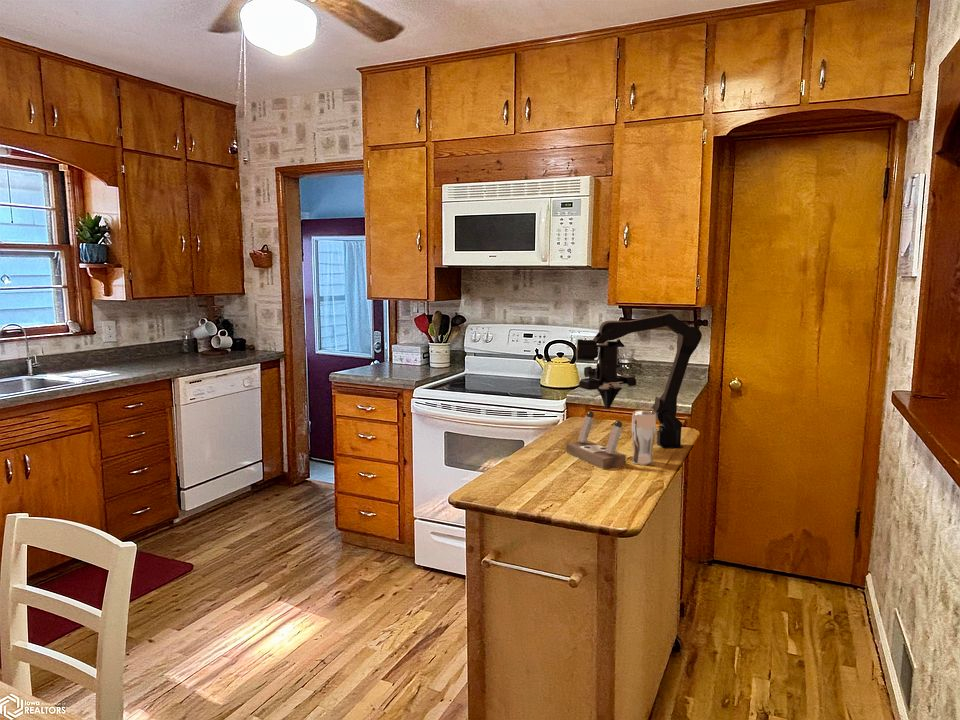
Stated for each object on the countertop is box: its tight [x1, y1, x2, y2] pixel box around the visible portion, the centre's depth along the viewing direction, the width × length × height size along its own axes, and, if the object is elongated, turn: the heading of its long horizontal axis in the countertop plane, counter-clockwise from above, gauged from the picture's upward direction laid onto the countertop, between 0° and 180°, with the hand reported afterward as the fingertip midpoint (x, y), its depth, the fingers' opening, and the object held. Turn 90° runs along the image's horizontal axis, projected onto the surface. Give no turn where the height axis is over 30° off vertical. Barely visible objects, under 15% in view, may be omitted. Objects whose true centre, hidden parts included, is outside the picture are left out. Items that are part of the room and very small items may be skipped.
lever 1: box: [577, 411, 595, 443], centre depth 202 cm, size 2×3×10 cm
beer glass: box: [631, 409, 657, 466], centre depth 191 cm, size 7×7×15 cm
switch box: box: [565, 439, 627, 470], centre depth 196 cm, size 8×19×4 cm, turn 26°
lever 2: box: [605, 420, 623, 454], centre depth 189 cm, size 2×3×10 cm
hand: (607, 408), depth 210 cm, fingers closed
